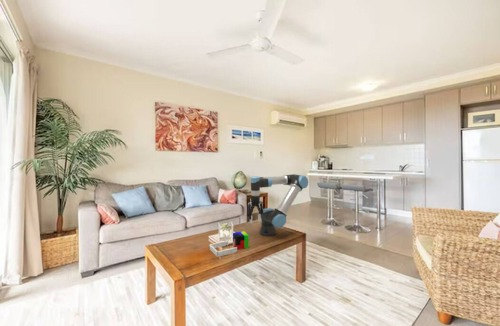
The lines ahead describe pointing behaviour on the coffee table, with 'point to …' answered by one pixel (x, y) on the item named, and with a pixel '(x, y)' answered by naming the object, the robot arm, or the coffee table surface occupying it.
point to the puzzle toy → (241, 240)
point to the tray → (223, 252)
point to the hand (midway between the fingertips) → (255, 222)
